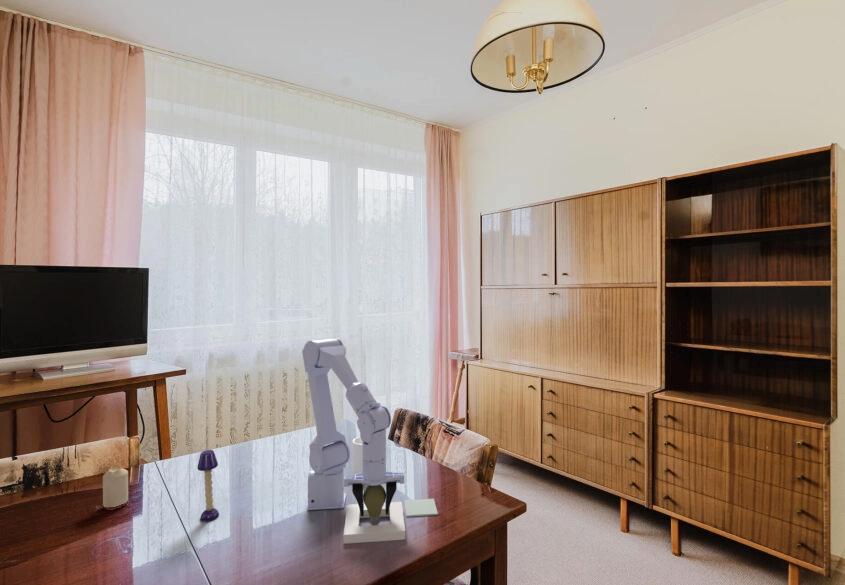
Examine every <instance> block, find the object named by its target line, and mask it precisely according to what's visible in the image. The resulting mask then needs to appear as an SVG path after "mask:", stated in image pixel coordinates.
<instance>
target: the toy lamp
mask: <svg viewBox="0 0 845 585" xmlns="http://www.w3.org/2000/svg"><path fill="white" fill-rule="evenodd" d="M218 465H219V463H218V459H217V457H216V453H215V451H214V450H213V449H206V450H203V451H201V452H200V454H199V458H198V464H197V470H198V471H201V472H204V477H203V478H204V486H205V487H204V491H205V493H204V494H205V495H204V496H205V504H206V505H205V510H203V512H202V513H201V515H200V519H199V520H201V521H202V522H210V521H214V520H215V519H217V518H218V517H219V515H220V513H219V510H218V509H217V508H214V498H213V496H214V493H213V480H212V478H213V474H212V472H213V470H214V469H216V468H217V467H218Z"/></svg>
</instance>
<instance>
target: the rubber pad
mask: <svg viewBox="0 0 845 585" xmlns="http://www.w3.org/2000/svg"><path fill="white" fill-rule="evenodd" d="M404 508H405V515H406V518H412V517H427V516H439V513H438V510H437V506H436V502H435V498H423V499H422V498H421V499H420V498H419V499H406V500H405V499H404Z"/></svg>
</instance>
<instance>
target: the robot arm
mask: <svg viewBox="0 0 845 585" xmlns="http://www.w3.org/2000/svg"><path fill="white" fill-rule="evenodd" d="M301 353H302V358H303V359H302V360H303V366H304V370H305V373H306V375H307V378H308V379H307V380H308V386H309V392H310V399H311V407H312V413H313V418H314V424H315V429H316V430H315V431H316V436H315V437H314V438H313V439H312V441H311V442H310V444H309V456H308V461H309V465H310V468H311V469H310V470H309V471H308V476H307V510H308V511H316V510H317V511H318V510H335V509H344V508H345V505H346V504H345V503H346V499H347V498H346V496H347V493H346V492H344V490H345V489H344V488H345V487H347V488H348V487H349V486H352V489H351V492H352V494H353V496H354V498H355V500H356V504H358V505H359V509H360V514H361V516H364V504H365V503H364V500H363V493H364V485H371V486H375V485H379V484H380V485H381V484H385V487H386V488H385V492H386V500H385V503H386V505H385V511H386V515H388V514H389V508H390V504H391V502H393V498H394V495H395V494H396V492H397V488H398V487H397V484H400V485H403V484H405V472H394V471H387V429H389V428H390V426H391V423H392V417H391V413H390V411H389V409H388V408H387V407H386V406H385V405H382V404H381V403H380V402H377V400H376V398H375V397H374V396H373V393H372V392H371V391H370V389H369V387H368V386H367V385H366V384H365V383H363V382H359V380H358V379H357V377H356V375H355V373H354V371H353V369H352V367H351V364H350V363H349V361H348V359H347V358H346V357H347V356H346V353H347V349H346V346H345V345H344V344H343V341H342V339H340V338H338V337H334V338H328V339H327V338H326V339H320V340H319V339H318V340H307V341H306V343H305V345H304V346H303V349H302V352H301ZM330 370H332V371H333V372H334V374H335V375H336V376H337V378H338V380H340V382H341V383H342V385H343V386H344V387H345V389H346V392H345V397H346V399H347V401H348V403H349V404H350V405H349V406H351V408H352V409H353V411H354V413H355V414H356V417H357V418H358V419H357V420H356V425H357V428H358V430H359V433H360V434H359V435H360V436H359V437H360V438H361V440H362V441H363V442H362V443H363V473H359V474H349V475H348V474H347V475H345V474H344V473H345V472H344V468H346V466H347V463H349V461H350V459H351V451H350V450H351V449H350V447H349V445H348V443H347V441H346V436H345V435H344V434H343V433H340V431H337V424H336V419H335V412H334V406H333V400H332V396H331V388H330V382H329V377H328V374H329V372H330Z"/></svg>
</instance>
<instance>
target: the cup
mask: <svg viewBox="0 0 845 585" xmlns="http://www.w3.org/2000/svg"><path fill="white" fill-rule="evenodd" d="M362 442H363V441H362V440H361V438H360V436H358V437H355V438H353V439H352V475H354V474H359V473H363V443H362Z"/></svg>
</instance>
